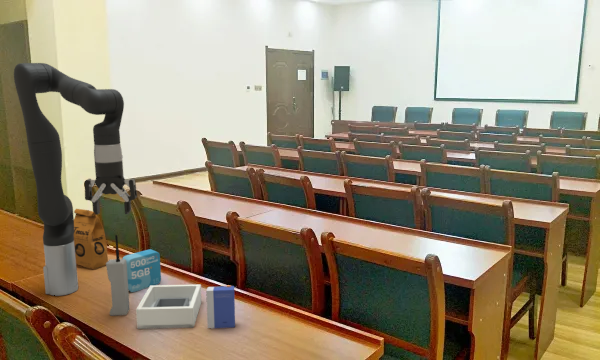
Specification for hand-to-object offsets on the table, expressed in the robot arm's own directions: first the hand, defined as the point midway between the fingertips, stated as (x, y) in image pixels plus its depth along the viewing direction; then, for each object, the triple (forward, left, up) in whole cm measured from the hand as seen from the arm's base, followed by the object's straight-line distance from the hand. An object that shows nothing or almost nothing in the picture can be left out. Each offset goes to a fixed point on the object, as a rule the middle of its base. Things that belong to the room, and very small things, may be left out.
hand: (112, 213), depth 145 cm
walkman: (+32, -10, -32) cm, 46 cm away
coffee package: (-23, +42, -32) cm, 57 cm away
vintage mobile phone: (0, 0, -32) cm, 32 cm away
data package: (+2, +20, -32) cm, 38 cm away
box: (+16, -2, -32) cm, 35 cm away
